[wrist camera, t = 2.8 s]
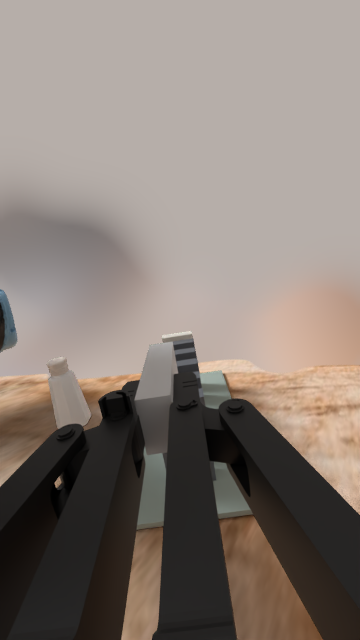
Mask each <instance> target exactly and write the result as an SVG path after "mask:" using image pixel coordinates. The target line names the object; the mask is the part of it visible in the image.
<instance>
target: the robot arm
mask: <svg viewBox="0 0 360 640" xmlns="http://www.w3.org/2000/svg"><path fill="white" fill-rule="evenodd" d="M16 343H17V333H16V329H15V324H14V319H13V315H12V311H11V308H10V305H9V301H8V298H7V296H6V294H5V292H4V291H3V290H1V289H0V352H2V351H3V350H6V349H9V348H12V347H14V346H15V345H16ZM98 402H99V406H100V409H101V413H102V417H103V419H102V421H101V423H100V425H99V426H97V427H95V428H92V429H89V430H86V431H84V429H83V426H81V425H80V424H68V425H65V426H63V427H61V428H60V429H58V430H56V431H55V432H54V433H53V434H51V436H50V437H49V438H48V439H47V440H46V441H45V442H44V443H43V444H42V445H41V446H40V447H39V448H38V449H37V450H36V451H35V452H34V453H33V454H32V455H31V456H30V457H29V458H28V459H27V460H26V461H25V462H24V463H23V464H22V465H21V466H20V467H19V468H18V469H17V470H16V471H15V472H14V473H13V474H12V475H11V476H10V478H9V479H8V480H7V481H6V482H5V483H4V484H3V485H2V486H1V487H0V640H121V636H122V629H123V622H124V615H125V608H126V600H127V593H128V586H129V579H130V572H131V565H132V558H133V551H134V543H135V536H136V529H137V522H138V515H139V508H140V501H141V494H142V487H143V479H144V472H145V465H146V464H145V458H144V454H143V453H144V447H145V449H146V453H147V455H153V454H160V453H167V466H166V486H165V506H164V526H163V546H162V566H161V586H160V606H159V622H158V628H157V631H156V632H155V633H154V634H153V637H152V640H237V635H236V629H235V622H234V615H233V609H232V602H231V596H230V589H229V583H228V576H227V570H226V563H225V557H224V550H223V544H222V537H221V531H220V524H219V518H218V511H217V505H216V498H215V492H214V485H213V479H212V472H211V465H210V461H213V462H221V463H226V465H227V468H228V470H229V472H230V474H231V476H232V477H233V479H234V481H235V483H236V485H237V486H238V488H239V490H240V492H241V493H242V495H243V497H244V499H245V501H246V502H247V504H248V506H249V508H250V510H251V511H252V513H253V515H254V517H255V518H256V520H257V522H258V524H259V526H260V527H261V529H262V531H263V533H264V535H265V536H266V538H267V540H268V542H269V544H270V545H271V547H272V549H273V551H274V552H275V554H276V556H277V558H278V560H279V561H280V563H281V565H282V567H283V569H284V570H285V572H286V574H287V576H288V577H289V579H290V581H291V583H292V585H293V586H294V588H295V590H296V592H297V594H298V595H299V597H300V599H301V601H302V602H303V604H304V606H305V608H306V610H307V611H308V613H309V615H310V617H311V619H312V620H313V622H314V624H315V626H316V627H317V629H318V631H319V633H320V635H321V636H322V638H323V640H360V515H359V514H358V513H357V512H356V511H355V510H354V509H353V508H352V507H351V506H350V505H349V504H348V503H347V502H346V501H345V500H344V499H343V497H342V496H341V495H340V494H339V493H338V492H337V491H336V490H335V489H334V488H333V487H332V486H331V485H330V484H329V483H328V482H327V481H326V480H325V479H324V478H323V477H322V476H321V475H320V474H319V473H318V472H317V471H316V470H315V469H314V468H313V467H312V466H311V465H310V464H309V463H308V462H307V461H306V460H305V459H304V458H303V457H302V455H301V454H300V453H299V452H298V451H297V450H296V449H295V448H294V447H293V446H292V445H291V444H290V443H289V442H288V441H287V440H286V439H285V438H284V437H283V436H282V435H281V434H280V433H279V432H278V431H277V430H276V429H275V428H274V427H273V426H272V425H271V424H270V423H269V422H268V421H267V420H266V419H265V418H264V417H263V416H262V415H261V413H260V412H259V411H258V410H257V409H256V408H255V407H254V406H253V405H252V404H251V403H249V402H248V401H246V400H243V399H229V400H226V401H224V402H222V403H221V404H220V405H219V408H218V409H214V408H209V407H206V406H204V405H203V404H202V403H201V401H200V396H199V389H198V383H197V377H196V375H195V374H194V373H193V372H192V371H191V372H184V373H178V369H177V363H176V358H175V352H174V347H173V341H172V342H166V343H160V344H154V345H150V346H149V350H148V353H147V357H146V360H145V364H144V367H143V371H142V375H141V378H140V380H137V381H131V382H127V383H126V384H125V385H124V386H123V387H122V390H117V391H113V392H110V393H108V394H105V395H104V396H102V397H101V398H100V399H99V401H98ZM59 476H60V478H61V481H62V483H61V484H60V486H59V487H58V488H56V487H55V484H54V483H55V481H56V480H57V479H58V477H59Z"/></svg>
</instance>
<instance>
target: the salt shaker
mask: <svg viewBox="0 0 360 640" xmlns="http://www.w3.org/2000/svg"><path fill="white" fill-rule="evenodd" d="M66 362H67V360H66V358H64V357H58V358H55V359H52V360H50V361H49V362H48V363H47V366H48V368H49V371H50V373H51V377H50V378H49V379H48V382H49V388H50V393H51V399H52V404H53V409H54V414H55V420H56V425H57V428H58V429H60V428H61V427H63V426H65V425H68V424H80V425H81V426H84V425H86V424H87V423H88V421H89V419H90V417H91V412H90V410H89V407H88V405H87V403H86V400H85V398H84V396H83V393H82V391H81V388H80V386H79V384H78V381H77V379H76V377H75V375H74V372H72V371H71V370H69V369H68V365H67V363H66Z"/></svg>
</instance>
